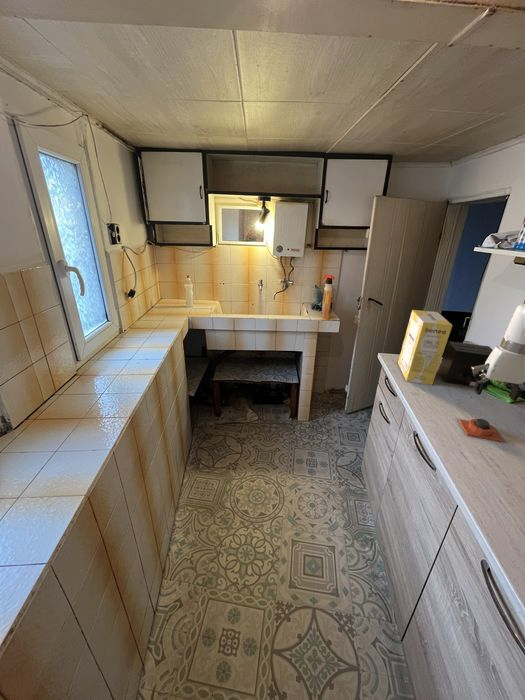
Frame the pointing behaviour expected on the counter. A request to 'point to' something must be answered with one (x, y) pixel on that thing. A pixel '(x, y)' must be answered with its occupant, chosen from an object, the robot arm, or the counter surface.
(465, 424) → the switch block
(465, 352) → the toaster
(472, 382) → the press handle
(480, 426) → the button
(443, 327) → the pasta box
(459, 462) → the counter surface
